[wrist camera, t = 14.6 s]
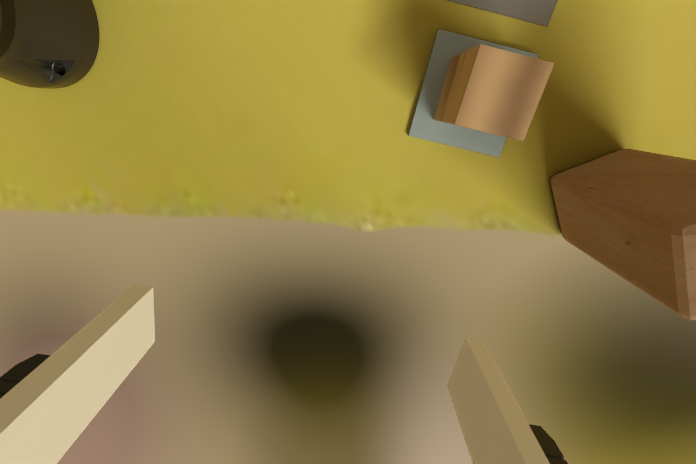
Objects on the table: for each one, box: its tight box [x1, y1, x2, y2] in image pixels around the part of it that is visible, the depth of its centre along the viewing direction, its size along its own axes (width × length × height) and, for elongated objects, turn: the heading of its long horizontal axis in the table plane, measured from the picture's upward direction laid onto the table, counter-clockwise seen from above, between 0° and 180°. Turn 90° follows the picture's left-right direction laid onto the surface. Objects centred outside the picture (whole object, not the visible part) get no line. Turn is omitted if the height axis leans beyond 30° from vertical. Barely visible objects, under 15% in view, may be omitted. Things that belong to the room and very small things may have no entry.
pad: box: [408, 29, 538, 157], centre depth 41 cm, size 12×12×1 cm
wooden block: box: [550, 149, 696, 320], centre depth 36 cm, size 10×10×20 cm
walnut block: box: [433, 44, 555, 141], centre depth 36 cm, size 7×7×10 cm
